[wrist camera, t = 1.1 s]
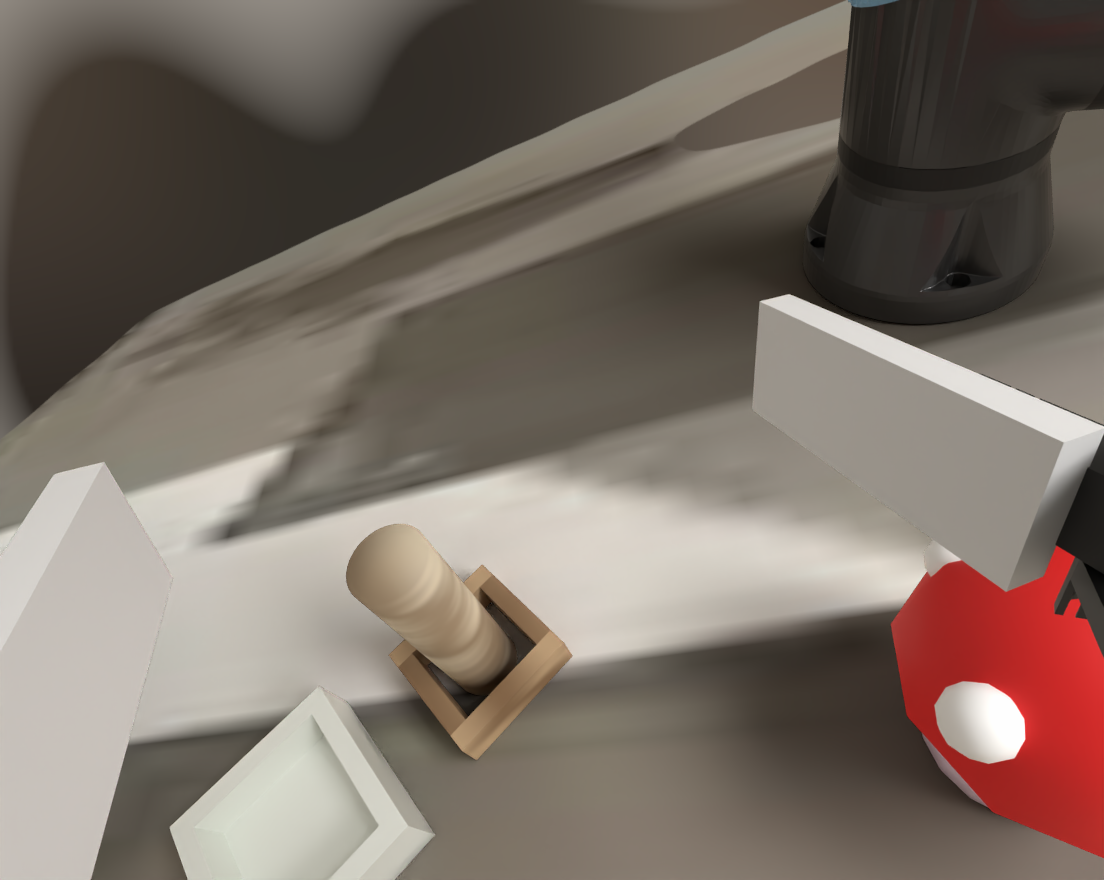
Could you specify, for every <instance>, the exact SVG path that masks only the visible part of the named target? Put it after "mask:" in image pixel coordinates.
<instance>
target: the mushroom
mask: <svg viewBox="0 0 1104 880" xmlns="http://www.w3.org/2000/svg"><path fill="white" fill-rule="evenodd" d="M923 555H924V562H925V568H926V570H927V572H926V574H925V575H924V577H923V578H922V580H921V581H920V582H919V584H918V585H917V587H916V588H915V590H914V591H913V593H912V594H911V595H910V597H909V598H908V600H907V601H906V603H905V604H904V606H903V607H902V608H901V610H900V611H899V613H898V614H897V616H896V617H895V619H894V620H893V622H892V623H891V628H892V634H893V639H894V645H895V651H896V656H897V662H898V668H899V674H900V679H901V685H902V691H903V696H904V702H905V708H906V713H907V716H908V718H909V719H910V720H911V721H912V722H913V723H914V724H915V725H916V727H917V728H918V729H919V730H920V731H921V732H922V737H923V739H924V741H925V743H926V745H927V747H928V748H929V750H930V752H931V754H932V756H933V757H934V759H935V761H936V763H937V765H938V766H939V768H940V770H941V771H942V772H943V773H944V774H945V775H946V776H947V777H948V778H949V779H950V780H952V781H953V782H954V783H955V784H956V785H957V786H958V787H959V788H960V789H961V790H962V791H963V792H964V793H965V794H966V795H967V796H968V797H969V798H971V799H973V800H974V801H976V802H978V803H980V804H982V805H984V806H986V807H988V808H989V809H990V810H991V811H992V812H993V813H996V814H998V815H1001V816H1003V817H1006V818H1008V819H1010V820H1013V821H1015V822H1018V823H1020V824H1022V825H1025V826H1027V827H1030V828H1032V829H1035V830H1037V831H1039V832H1042V833H1044V834H1047V835H1049V836H1052V837H1054V838H1056V839H1059V840H1061V841H1064V842H1066V843H1068V844H1071V845H1073V846H1076V847H1078V848H1081V849H1083V850H1085V851H1088V852H1090V853H1093V854H1095V855H1097V856H1100V857H1102V858H1104V658H1103V655H1102V653H1101V651H1100V648H1099V646H1098V644H1097V641H1096V639H1095V636H1094V634H1093V632H1092V629H1091V627H1090V625H1089V622H1088V620H1087V619H1081V618H1076V617H1075V615H1076V613H1077V611H1078V609H1079V607H1080V605H1081V603H1080V601H1079V599H1072V600H1070V602H1069V604H1068V606H1067V608H1066V610H1065V612H1064V615H1057V614H1054V603H1055V601H1056V598H1057V596H1058V594H1059V592H1060V589H1061V587H1062V585H1063V583H1064V581H1065V578H1066V576H1067V574H1068V572H1069V569H1070V567H1071V565H1072V563H1073V561H1074V558H1075V556H1073V555H1071V554H1070V553H1068V552H1066V551H1065V550H1063V549H1061V548H1060V547H1058V546H1056V548H1055V550H1054V553H1053V555H1052V557H1051V560H1050V562H1049V564H1048V567H1047V569H1046V572H1045V574H1044V576H1043V577H1041V578H1039V579H1036V580H1034V581H1031V582H1029V583H1026V584H1024V585H1022V586H1019V587H1017V588H1014V589H1012V590H1009V591H1007V592H1006V591H1004V590H1003V589H1001V588H1000V587H999V586H997V585H996V584H994V583H993V582H992V581H990V580H989V579H987V578H986V577H985V576H983V575H982V574H980V573H979V572H978V571H976V570H975V569H973V568H972V567H971V566H969V565H968V564H966V563H965V562H964V561H962V560H961V559H960V558H958V557H957V556H955V555H954V554H953V553H951V552H950V551H948V550H947V549H946V548H944V547H943V546H941V545H940V544H939V543H937V542H936V541H934V540H932V541H931V542H930V544H929V545H928V547H927V548H926V550H925V551H924V552H923Z"/></svg>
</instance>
